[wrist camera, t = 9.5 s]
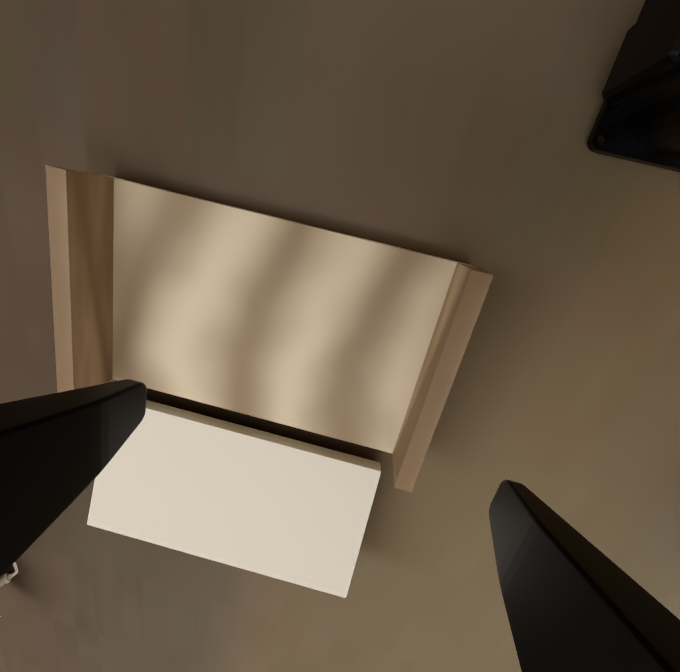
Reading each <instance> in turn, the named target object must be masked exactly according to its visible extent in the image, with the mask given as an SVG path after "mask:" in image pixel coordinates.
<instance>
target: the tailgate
mask: <svg viewBox="0 0 680 672" xmlns="http://www.w3.org/2000/svg"><path fill="white" fill-rule="evenodd" d="M380 474H381V466H380V463H379V462H376V461H372V460H368V459H364V458H361V457H357V456H353V455H350V454H346V453H342V452H338V451H335V450H331V449H327V448H324V447H320V446H316V445H312V444H309V443H305V442H301V441H298V440H294V439H290V438H286V437H283V436H279V435H275V434H271V433H268V432H264V431H260V430H257V429H253V428H249V427H245V426H242V425H238V424H234V423H231V422H227V421H223V420H219V419H216V418H212V417H208V416H205V415H201V414H197V413H193V412H190V411H186V410H182V409H179V408H175V407H171V406H167V405H164V404H160V403H156V402H152V401H149V400H146V412H145V416H144V418H143V420H142V421H141V423H140V424H139V425H138V427H137V428H136V429H135V430H134V432H133V433H132V434H131V435H130V437H129V438H128V439H127V440H126V442H125V443H124V444H123V445H122V447H121V448H120V449H119V450H118V452H117V453H116V454H115V456H114V457H113V458H112V459H111V461H110V462H109V463H108V464H107V465H106V467H105V468H104V469H103V470H102V471H101V472H100V474H99V475H98V476H97V477H96V478H95V482H94V488H93V493H92V499H91V505H90V510H89V516H88V521H87V525H90V526H94V527H97V528H101V529H104V530H108V531H111V532H115V533H118V534H122V535H125V536H129V537H133V538H136V539H140V540H143V541H147V542H150V543H154V544H157V545H161V546H164V547H168V548H171V549H175V550H178V551H182V552H185V553H189V554H192V555H196V556H199V557H203V558H206V559H210V560H213V561H217V562H220V563H224V564H227V565H231V566H235V567H238V568H242V569H245V570H249V571H252V572H256V573H259V574H263V575H266V576H270V577H273V578H277V579H280V580H284V581H287V582H291V583H294V584H298V585H301V586H305V587H308V588H312V589H315V590H319V591H322V592H326V593H329V594H333V595H337V596H340V597H344V598H346V596H347V593H348V589H349V585H350V582H351V578H352V575H353V571H354V567H355V564H356V560H357V557H358V553H359V550H360V546H361V542H362V539H363V535H364V532H365V528H366V524H367V521H368V517H369V514H370V510H371V506H372V503H373V499H374V496H375V492H376V489H377V485H378V481H379V478H380Z"/></svg>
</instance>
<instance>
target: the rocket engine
mask: <svg viewBox="0 0 680 672" xmlns="http://www.w3.org/2000/svg"><path fill="white" fill-rule="evenodd" d="M13 566H14V569H15V572H13V573H12V574H8V573H6V574H5V575H4V576H3V577H2V579H1V578H0V587H2V586H3V585H4V583H9V582H11V579H12V578H13V576H15V575H16V574H17V573H18V567H17V564H16V562H14V563H13Z"/></svg>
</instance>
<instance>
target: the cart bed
mask: <svg viewBox="0 0 680 672" xmlns="http://www.w3.org/2000/svg"><path fill="white" fill-rule="evenodd" d="M45 167H46V185H47V204H48V223H49V241H50V260H51V278H52V297H53V316H54V334H55V353H56V372H57V390H58V392H64V391H69V390H74V389H79V388H84V387H89V386H94V385H99V384H104V383H106V382H108V381H109V380H111V379H115V380H119V381H120V380H125V379H132V380H135V381H139V382H143V383H144V384H145V385H146V388H149V389H153V390H157V391H160V392H164V393H168V394H171V395H175V396H179V397H183V398H186V399H190V400H194V401H198V402H201V403H205V404H209V405H213V406H216V407H220V408H224V409H228V410H231V411H235V412H239V413H242V414H246V415H250V416H254V417H257V418H261V419H265V420H269V421H272V422H276V423H280V424H284V425H287V426H291V427H295V428H299V429H302V430H306V431H310V432H313V433H317V434H321V435H325V436H328V437H332V438H336V439H340V440H343V441H347V442H351V443H355V444H358V445H362V446H366V447H370V448H373V449H377V450H381V451H384V452H388V453H392V457H393V478H394V488H397V489H401V490H405V491H408V492H412V490H413V487H414V484H415V482H416V479H417V476H418V474H419V471H420V468H421V466H422V463H423V461H424V458H425V455H426V453H427V450H428V447H429V445H430V442H431V439H432V437H433V434H434V432H435V429H436V426H437V424H438V421H439V418H440V416H441V413H442V410H443V408H444V405H445V403H446V400H447V397H448V395H449V392H450V389H451V387H452V384H453V381H454V379H455V376H456V374H457V371H458V368H459V366H460V363H461V360H462V358H463V355H464V352H465V350H466V347H467V345H468V342H469V339H470V337H471V334H472V331H473V329H474V326H475V324H476V321H477V318H478V316H479V313H480V310H481V308H482V305H483V302H484V300H485V297H486V295H487V292H488V289H489V287H490V284H491V281H492V279H493V276H494V275H492V274H490V273H488V272H486V271H483V270H481V269H479V268H477V267H475V266H472V265H470V264H466V263H462V262H458V261H454V260H450V259H446V258H442V257H438V256H434V255H430V254H425V253H421V252H417V251H413V250H409V249H405V248H401V247H397V246H393V245H389V244H385V243H381V242H377V241H372V240H368V239H364V238H360V237H356V236H352V235H348V234H344V233H340V232H336V231H332V230H328V229H324V228H320V227H315V226H311V225H307V224H303V223H299V222H295V221H291V220H287V219H283V218H279V217H275V216H271V215H267V214H262V213H258V212H254V211H250V210H246V209H242V208H238V207H234V206H230V205H226V204H222V203H218V202H214V201H209V200H205V199H201V198H197V197H193V196H189V195H185V194H181V193H177V192H173V191H169V190H165V189H161V188H157V187H152V186H148V185H144V184H140V183H136V182H132V181H128V180H124V179H120V178H116V177H111V176H106V175H100V174H94V173H88V172H83V171H77V170H71V169H66V168H60V167H54V166H48V165H45Z"/></svg>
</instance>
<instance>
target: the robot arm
mask: <svg viewBox="0 0 680 672" xmlns="http://www.w3.org/2000/svg"><path fill="white" fill-rule="evenodd" d="M602 95H603V100H604V102H603V104H602V107H601V109H600V112H599V114H598V116H597V119H596V121H595V124H594V126H593V128H592V131H591V133H590V136H589V138H588V142H587V144H588V148H589V149H590V150H591V151H593V152H595V153H600V154H604V155H608V156H613V157H617V158H621V159H626V160H630V161H634V162H639V163H643V164H647V165H652V166H656V167H660V168H665V169H669V170H673V171H678V172H680V0H646V1H645V4H644V6H643V8H642V11H641V13H640V16H639V18H638V20H637V23H636V24H635V25H634V26H632V27H631V28H630V29H629V30H628V32H627V34H626V36H625V39H624V41H623V44H622V46H621V48H620V51H619V53H618V56H617V58H616V60H615V63H614V65H613V68H612V70H611V73H610V75H609V77H608V80H607V82H606V85H605V87H604V90H603V92H602ZM600 135H603V136H604V138H605V140H604V143H603V144H602V145H601V144H599V143H598V137H599V136H600ZM146 392H147V388H146V385H145V384H144V383H143V382H139V381H135V380H132V379H125V380H120V381H115V382H110V383H104V384H99V385H94V386H89V387H84V388H79V389H74V390H69V391H64V392H58V393H53V394H48V395H43V396H38V397H33V398H28V399H23V400H18V401H12V402H7V403H2V404H0V577H1V576H2V575H3V574H4V573H5V572H6V571H7V570H8V569H9V567H10V566H11V565H12V564H13V563H14V562H15V561H16V560H17V559H18V558H19V557H20V556H21V555H22V554H23V553H24V552H25V551H26V550H27V549H28V548H29V547H30V546H31V545H32V544H33V543H34V541H35V540H36V539H37V538H38V537H39V536H40V535H41V534H42V533H43V532H44V531H45V530H46V529H47V528H48V527H49V526H50V525H51V524H52V523H53V522H54V521H55V520H56V519H57V518H58V517H59V515H60V514H61V513H62V512H63V511H64V510H65V509H66V508H67V507H68V506H69V505H70V504H71V503H72V502H73V501H74V500H75V499H76V498H77V497H78V496H79V495H80V494H81V493H82V492H83V491H84V489H85V488H86V487H87V486H88V485H89V484H90V483H91V482H92V481H93V480H94V479H95V478H96V477H97V476H98V475H99V474H100V472H101V471H102V470H103V469H104V468H105V467H106V465H107V464H108V463H109V462H110V461H111V459H112V458H113V457H114V456H115V454H116V453H117V452H118V450H119V449H120V448H121V447H122V445H123V444H124V443H125V442H126V440H127V439H128V438H129V437H130V435H131V434H132V433H133V432H134V430H135V429H136V428H137V427H138V425H139V424H140V423H141V421H142V420H143V418H144V416H145V412H146ZM489 518H490V525H491V532H492V538H493V545H494V551H495V558H496V565H497V571H498V577H499V582H500V587H501V591H502V595H503V599H504V603H505V607H506V611H507V615H508V619H509V623H510V627H511V631H512V635H513V639H514V643H515V647H516V651H517V655H518V659H519V662H520V666H521V670H522V672H680V620H679V619H678V618H677V617H676V616H675V615H673V614H672V613H671V612H670V611H669V610H668V609H667V608H665V607H664V606H663V605H662V604H661V603H660V602H658V601H657V600H656V599H655V598H654V597H653V596H652V595H650V594H649V593H648V592H647V591H646V590H645V589H643V588H642V587H641V586H640V585H639V584H638V583H636V582H635V581H634V580H633V579H632V578H631V577H630V576H628V575H627V574H626V573H625V572H624V571H623V570H621V569H620V568H619V567H618V566H617V565H616V564H614V563H613V562H612V561H611V560H610V559H609V558H608V557H606V556H605V555H604V554H603V553H602V552H601V551H599V550H598V549H597V548H596V547H595V546H594V545H593V544H591V543H590V542H589V541H588V540H587V539H586V538H584V537H583V536H582V535H581V534H580V533H579V532H577V531H576V530H575V529H574V528H573V527H572V526H571V525H569V524H568V523H567V522H566V521H565V520H564V519H562V518H561V517H560V516H559V515H558V514H557V513H556V512H554V511H553V510H552V509H551V508H550V507H549V506H547V505H546V504H545V503H544V502H543V501H542V500H540V499H539V498H538V497H537V496H536V495H535V494H534V493H532V492H531V491H530V490H529V489H528V488H527V487H525V486H524V485H523V484H521V483H517V482H514V481H510V480H504V481H502V482H501V484H500V486H499V488H498V490H497V492H496V494H495V496H494V498H493V500H492V502H491V505H490V508H489Z"/></svg>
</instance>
